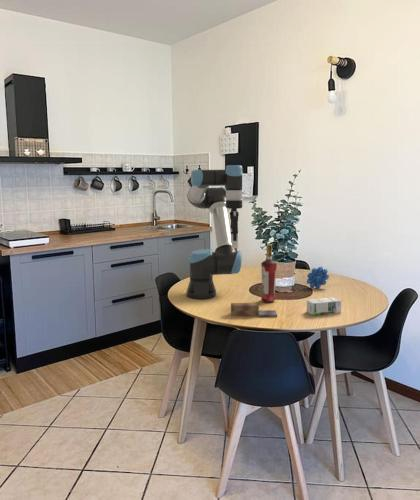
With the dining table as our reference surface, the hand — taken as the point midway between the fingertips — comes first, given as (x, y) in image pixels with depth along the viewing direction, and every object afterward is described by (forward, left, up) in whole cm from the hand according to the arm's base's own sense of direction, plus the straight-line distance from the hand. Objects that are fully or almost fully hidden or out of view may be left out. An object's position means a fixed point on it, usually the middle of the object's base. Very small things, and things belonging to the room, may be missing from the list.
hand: (234, 245), depth 206 cm
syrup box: (+33, -14, -26) cm, 44 cm away
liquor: (+17, +5, -29) cm, 34 cm away
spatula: (+8, -15, -29) cm, 34 cm away
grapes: (+46, +28, -29) cm, 61 cm away
